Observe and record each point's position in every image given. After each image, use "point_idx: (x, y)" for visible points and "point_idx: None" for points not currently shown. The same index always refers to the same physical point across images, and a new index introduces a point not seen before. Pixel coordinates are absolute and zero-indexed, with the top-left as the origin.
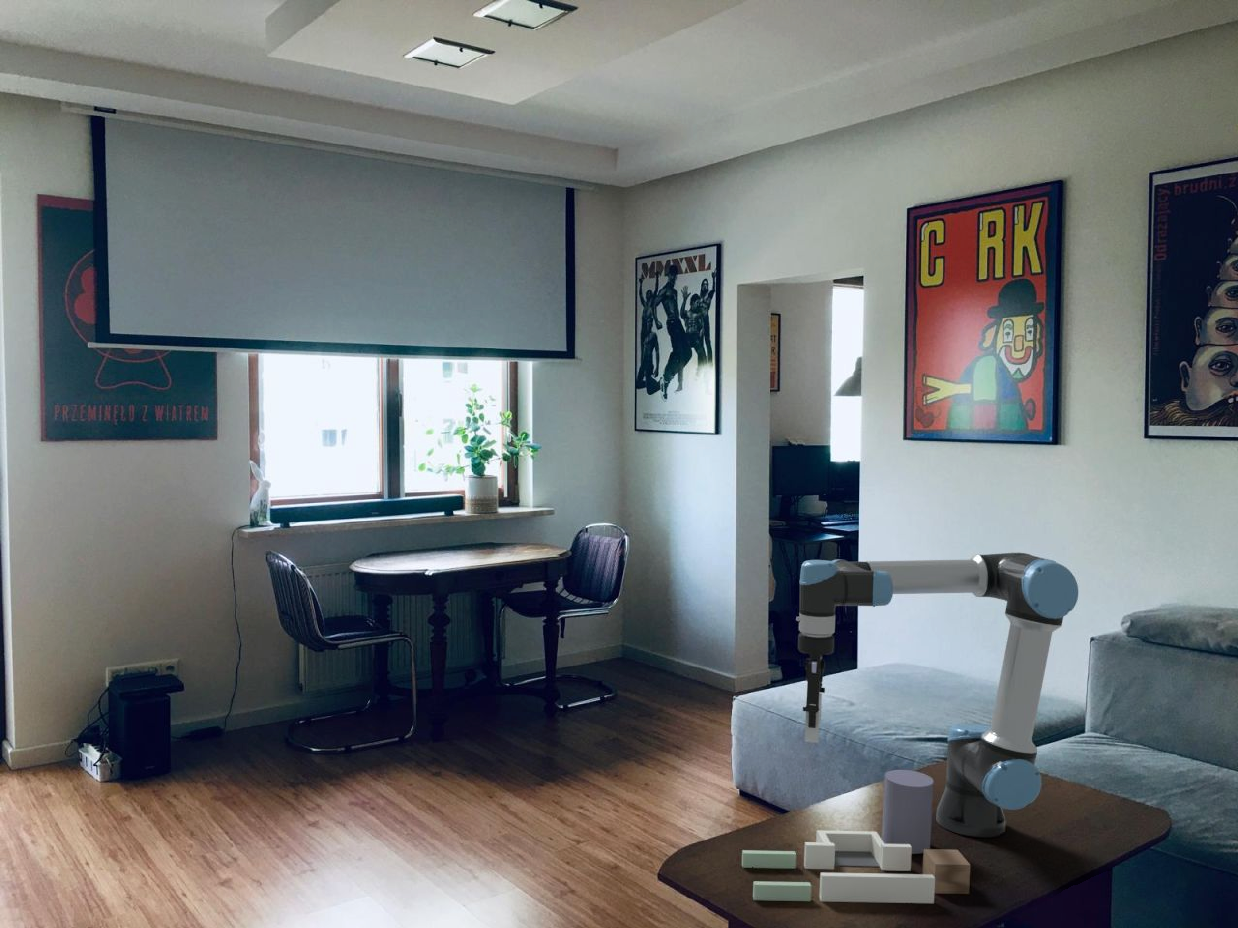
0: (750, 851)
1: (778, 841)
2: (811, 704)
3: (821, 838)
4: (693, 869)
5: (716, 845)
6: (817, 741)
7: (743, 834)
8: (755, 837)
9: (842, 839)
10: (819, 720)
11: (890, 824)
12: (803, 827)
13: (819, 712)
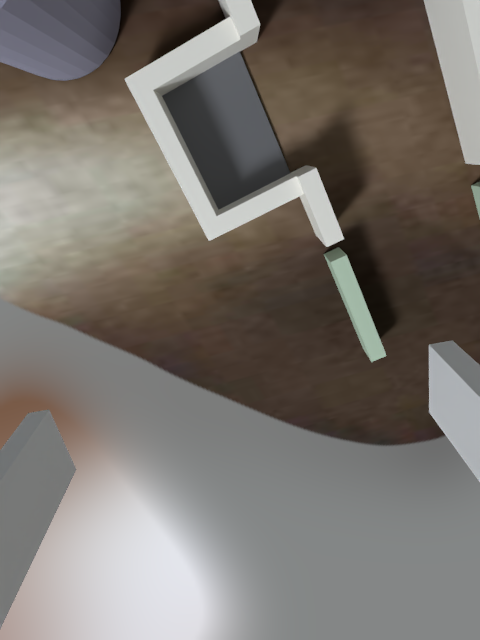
0: (371, 345)
1: (217, 314)
2: (16, 563)
3: (254, 217)
4: (417, 411)
5: (297, 409)
6: (457, 348)
7: (220, 382)
8: (222, 359)
9: (195, 170)
10: (43, 429)
11: (90, 28)
12: (110, 285)
13: (18, 469)
